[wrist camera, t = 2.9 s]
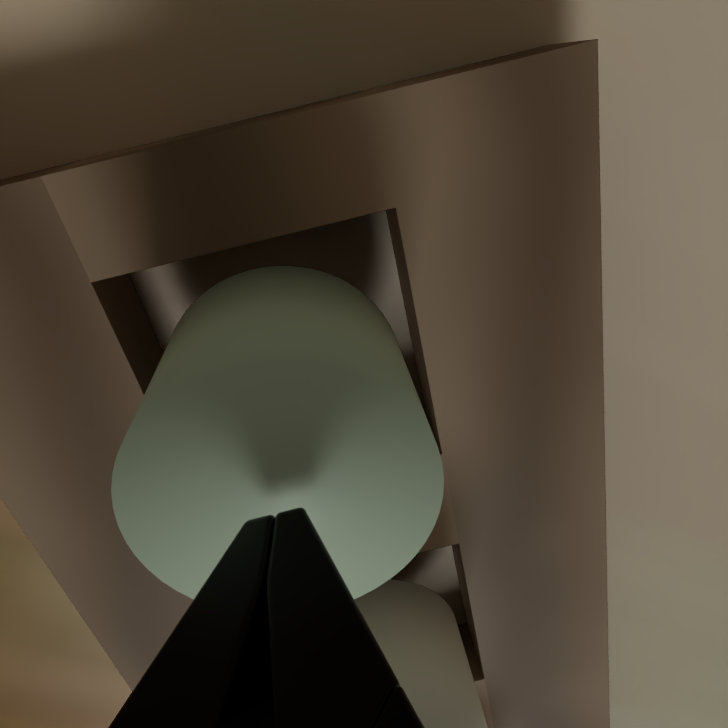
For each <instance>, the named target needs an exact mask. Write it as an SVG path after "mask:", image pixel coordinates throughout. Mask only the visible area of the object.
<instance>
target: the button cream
mask: <svg viewBox="0 0 728 728" xmlns="http://www.w3.org/2000/svg"><path fill="white" fill-rule="evenodd" d="M354 600H355V602H356V604H357V606H358V608H359V609H360V611H361V613H362V615H363V617H364V619H365V620H366V622H367V624H368V626H369V628H370V630H371V631H372V633H373V635H374V637H375V639H376V641H377V643H378V644H379V646H380V648H381V650H382V652H383V654H384V655H385V657H386V659H387V661H388V663H389V665H390V666H391V668H392V670H393V672H394V674H395V676H396V677H397V679H398V681H399V684H400V686H401V687H402V688H403V690H404V691H405V693H406V695H407V697H408V699H409V701H410V702H411V704H412V706H413V708H414V710H415V712H416V714H417V715H418V717H419V719H420V720H421V722H422V724H423V726H424V727H425V728H488V727H487V723H486V720H485V717H484V713H483V710H482V706H481V703H480V700H479V696H478V693H477V690H476V686H475V683H474V680H473V676H472V673H471V669H470V666H469V663H468V659H467V656H466V653H465V649H464V646H463V642H462V639H461V636H460V632H459V629H458V626H457V622H456V619H455V616H454V613H453V611H452V610H451V608H450V606H449V605H448V604H447V603H446V601H445V600H444V599H443V598H441V597H440V596H439V595H438V594H436V593H435V592H433V591H432V590H430V589H428V588H425V587H423V586H421V585H418V584H415V583H411V582H406V581H401V580H392V579H390V580H388V581H387V582H385V583H383V584H382V585H380V586H379V587H377V588H376V589H374V590H372V591H370V592H368V593H366V594H364V595H363V596H361V597H359V598H356V599H354Z"/></svg>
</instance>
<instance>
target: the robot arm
mask: <svg viewBox="0 0 728 728" xmlns="http://www.w3.org/2000/svg"><path fill="white" fill-rule="evenodd" d="M109 728H425V727H424V726H423V724H422V722H421V720H420V719H419V717H418V715H417V714H416V712H415V710H414V708H413V706H412V704H411V702H410V701H409V699H408V697H407V695H406V693H405V691H404V690H403V688H402V687H401V686H400V684H399V681H398V679H397V677H396V676H395V674H394V672H393V670H392V668H391V666H390V665H389V663H388V661H387V659H386V657H385V655H384V654H383V652H382V650H381V648H380V646H379V644H378V643H377V641H376V639H375V637H374V635H373V633H372V631H371V630H370V628H369V626H368V624H367V622H366V620H365V619H364V617H363V615H362V613H361V611H360V609H359V608H358V606H357V604H356V602H355V600H354V598H353V597H352V595H351V593H350V591H349V589H348V587H347V586H346V584H345V582H344V580H343V578H342V576H341V575H340V573H339V571H338V569H337V567H336V565H335V563H334V562H333V560H332V558H331V556H330V554H329V552H328V551H327V549H326V547H325V545H324V543H323V541H322V540H321V538H320V536H319V534H318V532H317V530H316V529H315V527H314V525H313V523H312V521H311V519H310V518H309V516H308V514H307V512H306V510H305V509H304V508H301V507H300V508H295V509H291V510H287V511H283V512H280V513H278V514H277V515H276V517H275V516H273V515H267V516H263V517H259V518H255V519H250V520H248V521H247V522H245V523H244V525H243V526H242V528H241V529H240V531H239V532H238V534H237V535H236V537H235V538H234V540H233V541H232V543H231V544H230V546H229V547H228V549H227V550H226V552H225V553H224V555H223V556H222V558H221V559H220V561H219V562H218V564H217V565H216V567H215V568H214V570H213V571H212V573H211V574H210V576H209V577H208V579H207V580H206V582H205V583H204V585H203V586H202V588H201V589H200V591H199V592H198V594H197V595H196V597H195V598H194V600H193V601H192V603H191V604H190V606H189V607H188V609H187V610H186V612H185V613H184V615H183V616H182V618H181V619H180V621H179V622H178V624H177V625H176V627H175V628H174V630H173V631H172V633H171V634H170V636H169V637H168V639H167V640H166V642H165V643H164V645H163V646H162V648H161V649H160V651H159V652H158V654H157V655H156V657H155V658H154V660H153V661H152V663H151V664H150V666H149V667H148V669H147V670H146V672H145V673H144V675H143V676H142V678H141V679H140V681H139V682H138V684H137V685H136V687H135V688H134V690H133V691H132V693H131V694H130V696H129V698H128V699H127V701H126V702H125V704H124V705H123V707H122V708H121V710H120V711H119V713H118V714H117V716H116V717H115V719H114V720H113V722H112V723H111V725H110V726H109Z"/></svg>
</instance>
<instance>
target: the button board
mask: <svg viewBox="0 0 728 728" xmlns="http://www.w3.org/2000/svg"><path fill="white" fill-rule="evenodd" d="M383 210H386V214H387V219H388V224H389V229H390V234H391V239H392V244H393V249H394V254H395V259H396V265H397V270H398V275H399V280H400V285H401V290H402V295H403V300H404V305H405V310H406V315H407V320H408V325H409V331H410V336H411V341H412V346H413V351H414V356H415V361H416V366H417V371H418V376H419V381H420V386H421V392H422V397H423V402H424V407H425V411H424V412H425V415H426V418H427V420H428V423H429V425H430V428H431V431H432V433H433V436H434V438H435V441H436V443H437V446H438V449H439V453H440V457H441V460H442V465H443V474H444V490H443V499H442V504H441V508H440V513H439V515H438V518H437V520H436V523H435V526H434V528H433V530H432V532H431V533H430V535H429V537H428V539H427V541H426V542H425V544H424V545H423V546H422V548H421V549H420V550H419V552H418V553H421V552H425V551H429V550H433V549H437V548H441V547H445V546H449V545H452V549H453V554H454V559H455V564H456V569H457V574H458V580H459V585H460V590H461V595H462V600H463V605H464V610H465V615H466V620H467V625H463V626H459V627H458V629H459V632H460V636H461V639H462V642H463V646H464V649H465V653H466V656H467V659H468V663H469V666H470V669H471V673H472V676H473V680H474V683H475V686H476V690H477V693H478V696H479V700H480V703H481V706H482V710H483V713H484V717H485V720H486V723H487V727H488V728H610V716H609V660H608V603H607V546H606V489H605V433H604V376H603V319H602V262H601V206H600V149H599V92H598V39H594V40H586V41H577V42H569V43H560V44H551V45H547V46H543V47H539V48H535V49H531V50H527V51H523V52H519V53H515V54H511V55H507V56H503V57H499V58H495V59H491V60H486V61H482V62H478V63H474V64H470V65H466V66H462V67H458V68H454V69H450V70H446V71H442V72H438V73H434V74H430V75H426V76H422V77H418V78H413V79H409V80H405V81H401V82H397V83H393V84H389V85H385V86H381V87H377V88H373V89H369V90H365V91H361V92H357V93H353V94H349V95H345V96H340V97H336V98H332V99H328V100H324V101H320V102H316V103H312V104H308V105H304V106H300V107H296V108H292V109H288V110H284V111H280V112H276V113H271V114H267V115H263V116H259V117H255V118H251V119H247V120H243V121H239V122H235V123H231V124H227V125H223V126H219V127H215V128H211V129H207V130H203V131H198V132H194V133H190V134H186V135H182V136H178V137H174V138H170V139H166V140H162V141H158V142H154V143H150V144H146V145H142V146H138V147H134V148H130V149H125V150H121V151H117V152H113V153H109V154H105V155H101V156H97V157H93V158H89V159H85V160H81V161H77V162H73V163H69V164H65V165H61V166H57V167H52V168H48V169H44V170H40V171H36V172H32V173H28V174H24V175H20V176H16V177H12V178H8V179H4V180H0V498H1V499H2V501H3V502H4V504H5V505H6V507H7V508H8V510H9V511H10V512H11V514H12V515H13V517H14V518H15V520H16V521H17V523H18V524H19V526H20V527H21V529H22V530H23V532H24V533H25V534H26V536H27V537H28V539H29V540H30V542H31V543H32V545H33V546H34V548H35V549H36V551H37V552H38V554H39V555H40V556H41V558H42V559H43V561H44V562H45V564H46V565H47V567H48V568H49V570H50V571H51V573H52V574H53V576H54V577H55V578H56V580H57V581H58V583H59V584H60V586H61V587H62V589H63V590H64V592H65V593H66V595H67V596H68V598H69V599H70V600H71V602H72V603H73V605H74V606H75V608H76V609H77V611H78V612H79V614H80V615H81V617H82V618H83V620H84V621H85V622H86V624H87V625H88V627H89V628H90V630H91V631H92V633H93V634H94V636H95V637H96V639H97V640H98V641H99V643H100V644H101V646H102V647H103V649H104V650H105V652H106V653H107V655H108V656H109V658H110V659H111V661H112V662H113V663H114V665H115V666H116V668H117V669H118V671H119V672H120V674H121V675H122V677H123V678H124V680H125V681H126V683H127V684H128V685H129V687H130V688H131V690H132V691H133V690H134V688H135V687H136V685H137V684H138V682H139V681H140V679H141V678H142V676H143V675H144V673H145V672H146V670H147V669H148V667H149V666H150V664H151V663H152V661H153V660H154V658H155V657H156V655H157V654H158V652H159V651H160V649H161V648H162V646H163V645H164V643H165V642H166V640H167V639H168V637H169V636H170V634H171V633H172V631H173V630H174V628H175V627H176V625H177V624H178V622H179V621H180V619H181V618H182V616H183V615H184V613H185V612H186V610H187V609H188V607H189V606H190V604H191V603H192V601H193V600H194V599H192V598H190V597H188V596H186V595H184V594H182V593H180V592H178V591H176V590H174V589H173V588H171V587H170V586H168V585H167V584H165V583H164V582H162V581H161V580H160V579H158V578H157V577H156V576H155V575H154V574H153V573H151V572H150V571H149V570H148V569H147V568H146V567H145V566H144V565H143V564H142V563H141V562H140V561H139V559H138V558H137V557H136V556H135V555H134V553H133V552H132V550H131V549H130V547H129V546H128V544H127V543H126V541H125V539H124V537H123V535H122V533H121V531H120V529H119V527H118V524H117V521H116V517H115V514H114V510H113V504H112V495H111V485H112V472H113V468H114V464H115V460H116V456H117V453H118V451H119V449H120V447H121V444H122V442H123V440H124V437H125V435H126V433H127V431H128V429H129V427H130V425H131V422H132V420H133V418H134V416H135V414H136V412H137V410H138V407H139V405H140V403H141V401H142V399H143V397H144V395H145V392H146V390H147V388H148V386H149V384H150V382H151V379H152V377H153V375H154V373H155V371H156V369H157V367H158V364H159V362H160V360H161V358H162V356H163V352H162V350H161V348H160V345H159V343H158V341H157V339H156V336H155V334H154V332H153V329H152V327H151V325H150V322H149V320H148V318H147V316H146V313H145V311H144V309H143V306H142V304H141V302H140V299H139V297H138V295H137V293H136V290H135V288H134V286H133V283H132V281H131V279H130V276H129V274H128V273H132V272H136V271H140V270H144V269H148V268H152V267H156V266H160V265H164V264H168V263H172V262H176V261H180V260H184V259H188V258H192V257H197V256H201V255H205V254H209V253H213V252H217V251H221V250H225V249H229V248H233V247H237V246H241V245H245V244H249V243H253V242H257V241H262V240H266V239H270V238H274V237H278V236H282V235H286V234H290V233H294V232H298V231H302V230H306V229H310V228H314V227H318V226H322V225H327V224H331V223H335V222H339V221H343V220H347V219H351V218H355V217H359V216H363V215H367V214H371V213H375V212H379V211H383Z"/></svg>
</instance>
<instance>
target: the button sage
mask: <svg viewBox="0 0 728 728" xmlns="http://www.w3.org/2000/svg"><path fill="white" fill-rule="evenodd" d="M443 490H444V474H443V465H442V460H441V457H440V453H439V449H438V446H437V443H436V441H435V438H434V436H433V433H432V431H431V428H430V425H429V423H428V420H427V418H426V415H425V412H424V410H423V407H422V405H421V402H420V399H419V397H418V394H417V392H416V389H415V387H414V384H413V381H412V379H411V376H410V374H409V371H408V368H407V366H406V363H405V361H404V358H403V356H402V353H401V350H400V348H399V345H398V343H397V340H396V337H395V335H394V333H393V331H392V329H391V326H390V324H389V323H388V321H387V320H386V318H385V317H384V315H383V313H382V312H381V311H380V310H379V309H378V307H377V306H376V305H375V304H374V303H373V302H372V301H371V300H370V299H369V298H368V297H367V296H366V295H364V294H363V293H362V292H361V291H360V290H358V289H357V288H355V287H354V286H352V285H351V284H349V283H348V282H345V281H343V280H341V279H339V278H337V277H335V276H333V275H330V274H327V273H324V272H321V271H318V270H314V269H309V268H304V267H295V266H269V267H263V268H257V269H251V270H248V271H245V272H242V273H239V274H236V275H233V276H231V277H229V278H227V279H225V280H223V281H221V282H219V283H217V284H216V285H214V286H213V287H211V288H210V289H208V290H207V291H206V292H204V293H203V294H202V295H201V296H200V297H199V298H197V299H196V300H195V301H194V302H193V304H192V305H191V306H190V307H189V308H188V309H187V310H186V312H185V313H184V315H183V316H182V318H181V319H180V321H179V322H178V324H177V326H176V328H175V330H174V332H173V334H172V337H171V339H170V341H169V343H168V345H167V347H166V349H165V352H164V354H163V356H162V358H161V360H160V362H159V364H158V367H157V369H156V371H155V373H154V375H153V377H152V379H151V382H150V384H149V386H148V388H147V390H146V392H145V395H144V397H143V399H142V401H141V403H140V405H139V407H138V410H137V412H136V414H135V416H134V418H133V420H132V422H131V425H130V427H129V429H128V431H127V433H126V435H125V437H124V440H123V442H122V444H121V447H120V449H119V451H118V453H117V456H116V460H115V464H114V468H113V472H112V485H111V495H112V504H113V510H114V514H115V517H116V521H117V524H118V527H119V529H120V531H121V533H122V535H123V537H124V539H125V541H126V543H127V544H128V546H129V547H130V549H131V550H132V552H133V553H134V555H135V556H136V557H137V558H138V559H139V561H140V562H141V563H142V564H143V565H144V566H145V567H146V568H147V569H148V570H149V571H150V572H151V573H153V574H154V575H155V576H156V577H157V578H158V579H160V580H161V581H162V582H164V583H165V584H167V585H168V586H170V587H171V588H173V589H174V590H176V591H178V592H180V593H182V594H184V595H186V596H188V597H190V598H192V599H194V598H195V597H196V595H197V594H198V592H199V591H200V589H201V588H202V586H203V585H204V583H205V582H206V580H207V579H208V577H209V576H210V574H211V573H212V571H213V570H214V568H215V567H216V565H217V564H218V562H219V561H220V559H221V558H222V556H223V555H224V553H225V552H226V550H227V549H228V547H229V546H230V544H231V543H232V541H233V540H234V538H235V537H236V535H237V534H238V532H239V531H240V529H241V528H242V526H243V525H244V523H245V522H247V521H248V520H250V519H255V518H259V517H263V516H267V515H273V516H275V517H276V515H277V514H278V513H280V512H283V511H287V510H291V509H295V508H300V507H301V508H304V509H305V510H306V512H307V514H308V516H309V518H310V519H311V521H312V523H313V525H314V527H315V529H316V530H317V532H318V534H319V536H320V538H321V540H322V541H323V543H324V545H325V547H326V549H327V551H328V552H329V554H330V556H331V558H332V560H333V562H334V563H335V565H336V567H337V569H338V571H339V573H340V575H341V576H342V578H343V580H344V582H345V584H346V586H347V587H348V589H349V591H350V593H351V595H352V597H353V598H354V599H356V598H359V597H361V596H363V595H364V594H366V593H368V592H370V591H372V590H374V589H376V588H377V587H379V586H380V585H382V584H383V583H385V582H387V581H388V580H390V579H391V578H392V577H393V576H395V575H396V574H397V573H398V572H399V571H401V570H402V569H403V568H404V567H405V566H406V565H407V564H408V563H409V562H410V561H411V560H412V559H413V558H414V557H415V556H416V554H417V553H418V552H419V550H420V549H421V548H422V546H423V545H424V544H425V542H426V541H427V539H428V537H429V535H430V533H431V532H432V530H433V528H434V526H435V523H436V520H437V518H438V515H439V513H440V508H441V504H442V499H443Z"/></svg>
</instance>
